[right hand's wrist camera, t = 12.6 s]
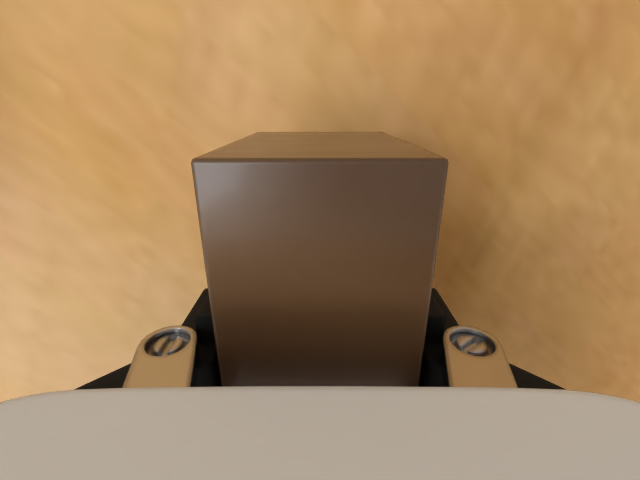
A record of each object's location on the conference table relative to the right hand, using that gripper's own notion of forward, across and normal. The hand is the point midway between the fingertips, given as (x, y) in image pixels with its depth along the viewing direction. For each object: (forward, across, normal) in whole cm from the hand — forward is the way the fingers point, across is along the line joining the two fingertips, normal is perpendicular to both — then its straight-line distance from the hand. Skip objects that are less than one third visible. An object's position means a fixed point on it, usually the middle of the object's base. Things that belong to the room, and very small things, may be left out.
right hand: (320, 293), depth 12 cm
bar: (+2, 0, +32) cm, 32 cm away
